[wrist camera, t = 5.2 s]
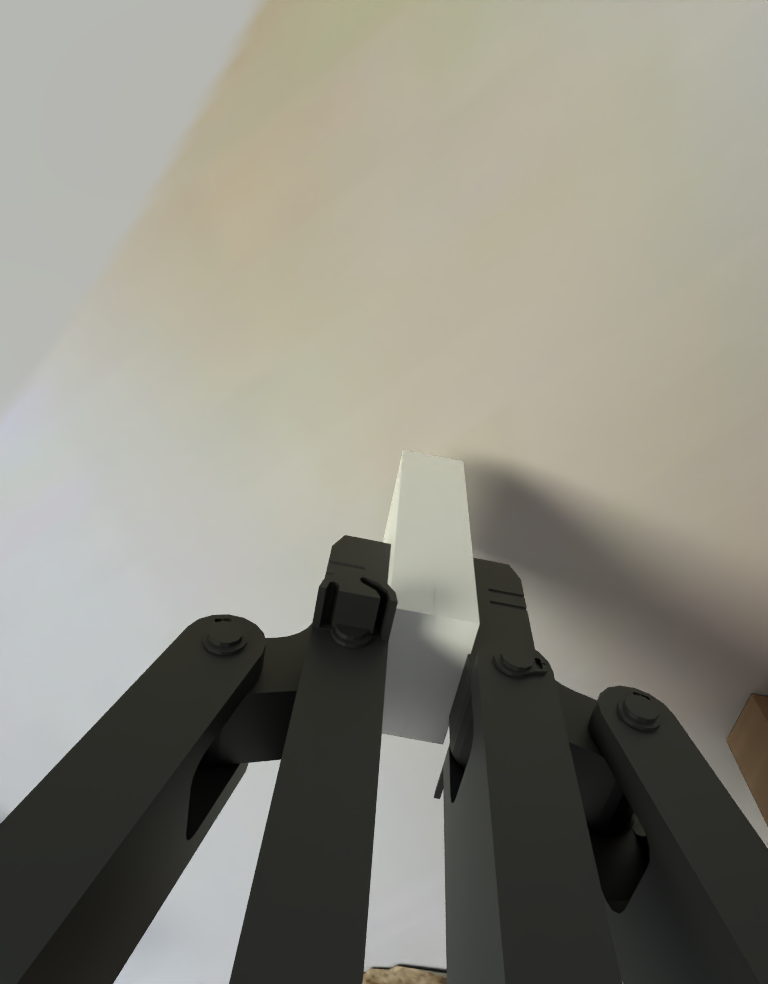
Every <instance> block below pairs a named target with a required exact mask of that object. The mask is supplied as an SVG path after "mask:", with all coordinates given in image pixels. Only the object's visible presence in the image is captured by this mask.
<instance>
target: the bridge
mask: <svg viewBox="0 0 768 984" xmlns="http://www.w3.org/2000/svg"><path fill="white" fill-rule="evenodd" d="M727 743H728V745H729V748H730V750H731V752H732V754H733V756H734V758H735V760H736V762H737V764H738V766H739V768H740V770H741V772H742V774H743V776H744V778H745V781H746V783H747V785H748V787H749V789H750V791H751V793H752V795H753V797H754V799H755V801H756V803H757V805H758V807H759V809H760V812H761V814H762V816H763V818H764V820H765V822H766V824H767V826H768V697H765V696H759V695H754V694H751V696H750V698H749V700H748V702H747V704H746V706H745V707H744V709H743V711H742V713H741V715H740V717H739V719H738V720H737V722H736V724H735V726H734V728H733V730H732V731H731V733H730V735H729V737H728V739H727Z"/></svg>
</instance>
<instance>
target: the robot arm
mask: <svg viewBox="0 0 768 984" xmlns="http://www.w3.org/2000/svg"><path fill="white" fill-rule="evenodd" d="M448 726H449V730H450V745H449V748H448V751H447V754H446V758H445V761H444V764H443V767H442V771H441V774H440V777H439V780H438V784H437V787H436V791H435V795H434V798H437V799H440V797H441V794H442V791H443V789H444V842H445V900H446V957H447V984H622V981H623V984H768V848H767V847H766V845H765V844H764V843H763V841H762V840H761V838H760V837H759V835H758V834H757V833H756V831H755V830H754V828H753V827H752V825H751V824H750V823H749V821H748V820H747V818H746V817H745V816H744V814H743V813H742V811H741V810H740V808H739V807H738V806H737V804H736V803H735V801H734V800H733V798H732V797H731V796H730V794H729V793H728V791H727V790H726V788H725V787H724V786H723V784H722V783H721V781H720V780H719V778H718V777H717V776H716V774H715V773H714V771H713V770H712V768H711V767H710V766H709V764H708V763H707V761H706V760H705V758H704V757H703V756H702V754H701V753H700V751H699V750H698V749H697V747H696V746H695V744H694V743H693V741H692V740H691V739H690V737H689V736H688V734H687V733H686V731H685V730H684V729H683V727H682V726H681V724H680V723H679V721H678V720H677V719H676V717H675V716H674V714H673V713H672V712H671V711H670V710H669V709H668V708H667V707H666V706H665V705H664V704H663V703H662V702H660V701H659V700H657V699H656V698H654V697H653V696H651V695H650V694H648V693H645V692H643V691H640V690H638V689H635V688H631V687H625V686H615V687H609V688H607V689H605V690H604V691H603V692H601V693H600V695H599V698H598V700H595V699H592V698H590V697H587V696H585V695H583V694H580V693H578V692H575V691H573V690H571V689H569V688H567V687H565V686H563V685H561V684H560V683H559V682H557V681H556V680H555V679H554V674H553V671H552V668H551V666H550V664H549V662H548V661H547V660H546V659H545V658H544V657H543V656H542V655H541V654H540V653H539V652H538V651H536V650H535V647H534V642H533V637H532V632H531V627H530V623H529V618H528V613H527V611H526V603H525V598H524V593H523V588H522V583H521V579H520V578H519V577H518V576H517V574H516V573H515V572H514V571H513V569H512V568H511V567H510V566H509V565H508V564H502V563H497V562H492V561H487V560H481V559H476V558H473V553H472V543H471V533H470V523H469V513H468V503H467V493H466V483H465V473H464V463H463V461H459V460H454V459H449V458H444V457H439V456H434V455H429V454H424V453H418V452H413V451H408V450H403V452H402V457H401V461H400V466H399V470H398V475H397V480H396V484H395V489H394V494H393V498H392V503H391V507H390V512H389V517H388V521H387V526H386V530H385V535H384V540H383V542H378V541H373V540H367V539H362V538H357V537H352V536H347V535H345V536H343V537H342V538H341V539H340V540H339V541H338V542H336V543H335V544H334V545H333V546H332V550H331V554H330V558H329V563H328V567H327V571H326V575H325V579H324V580H323V581H322V583H321V585H320V586H319V590H318V595H317V601H316V607H315V612H314V618H313V623H312V624H311V625H310V626H309V627H308V628H307V629H305V630H304V631H302V632H300V633H298V634H295V635H291V636H288V637H279V638H265V636H264V633H263V632H262V631H261V630H260V628H259V627H258V626H257V625H256V624H254V623H252V622H250V621H249V620H247V619H245V618H242V617H237V616H233V615H211V616H208V617H204V618H201V619H198V620H197V621H195V622H194V623H192V624H191V625H189V626H188V627H187V628H186V629H185V630H184V631H183V632H182V633H181V634H180V635H179V636H178V637H177V638H176V640H175V641H174V642H173V643H172V644H171V645H170V646H169V647H168V648H167V649H166V650H165V651H164V652H163V653H162V654H161V655H160V656H159V657H158V658H157V660H156V661H155V662H154V663H153V664H152V665H151V666H150V667H149V668H148V669H147V670H146V671H145V672H144V673H143V674H142V675H141V676H140V677H139V678H138V680H137V681H136V682H135V683H134V684H133V685H132V686H131V687H130V688H129V689H128V690H127V691H126V692H125V693H124V694H123V695H122V696H121V697H120V698H119V700H118V701H117V702H116V703H115V704H114V705H113V706H112V707H111V708H110V709H109V710H108V711H107V712H106V713H105V714H104V715H103V716H102V717H101V718H100V720H99V721H98V722H97V723H96V724H95V725H94V726H93V727H92V728H91V729H90V730H89V731H88V732H87V733H86V734H85V735H84V736H83V737H82V738H81V740H80V741H79V742H78V743H77V744H76V745H75V746H74V747H73V748H72V749H71V750H70V751H69V752H68V753H67V754H66V755H65V756H64V757H63V758H62V760H61V761H60V762H59V763H58V764H57V765H56V766H55V767H54V768H53V769H52V770H51V771H50V772H49V773H48V774H47V775H46V776H45V777H44V778H43V780H42V781H41V782H40V783H39V784H38V785H37V786H36V787H35V788H34V789H33V790H32V791H31V792H30V793H29V794H28V795H27V796H26V797H25V798H24V800H23V801H22V802H21V803H20V804H19V805H18V806H17V807H16V808H15V809H14V810H13V811H12V812H11V813H10V814H9V815H8V816H7V817H6V818H5V820H4V821H3V822H2V823H1V824H0V984H113V983H114V981H115V980H116V978H117V976H118V975H119V973H120V972H121V970H122V968H123V967H124V965H125V964H126V962H127V960H128V959H129V957H130V956H131V954H132V952H133V951H134V949H135V948H136V946H137V944H138V943H139V941H140V940H141V938H142V936H143V935H144V933H145V932H146V930H147V928H148V927H149V925H150V924H151V922H152V920H153V919H154V917H155V916H156V914H157V912H158V911H159V909H160V908H161V906H162V904H163V903H164V901H165V900H166V898H167V896H168V895H169V893H170V892H171V890H172V888H173V887H174V885H175V884H176V882H177V880H178V879H179V877H180V876H181V874H182V872H183V871H184V869H185V868H186V866H187V864H188V863H189V861H190V860H191V858H192V856H193V855H194V853H195V852H196V850H197V848H198V847H199V845H200V844H201V842H202V840H203V839H204V837H205V836H206V834H207V832H208V831H209V829H210V828H211V826H212V824H213V823H214V821H215V820H216V818H217V816H218V815H219V813H220V812H221V810H222V808H223V807H224V805H225V804H226V802H227V800H228V799H229V797H230V796H231V794H232V792H233V791H234V789H235V788H236V786H237V784H238V783H239V781H240V780H241V778H242V776H243V775H244V773H245V772H246V769H247V766H248V763H249V762H260V761H270V760H280V759H281V762H280V767H279V771H278V775H277V780H276V784H275V788H274V793H273V797H272V801H271V805H270V810H269V814H268V818H267V823H266V827H265V831H264V836H263V840H262V844H261V849H260V853H259V857H258V861H257V866H256V870H255V874H254V879H253V883H252V887H251V892H250V896H249V900H248V905H247V909H246V913H245V918H244V922H243V926H242V930H241V935H240V939H239V943H238V948H237V952H236V956H235V961H234V965H233V969H232V974H231V978H230V982H229V984H363V971H364V958H365V945H366V932H367V919H368V906H369V892H370V879H371V866H372V853H373V840H374V827H375V813H376V800H377V787H378V774H379V761H380V748H381V735H382V733H383V734H388V735H394V736H399V737H405V738H410V739H416V740H421V741H427V742H432V743H438V744H443V743H444V740H445V736H446V733H447V730H448Z"/></svg>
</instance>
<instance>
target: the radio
mask: <svg viewBox="0 0 768 984" xmlns="http://www.w3.org/2000/svg"><path fill="white" fill-rule="evenodd" d="M363 984H447V973H444V972H437V971H430V970H423V969H415V968H408V967H401V966H396V967H393V968H391V969H389V970H386V969H369V970H368V971H367V972H366V973H365V974H363Z"/></svg>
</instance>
